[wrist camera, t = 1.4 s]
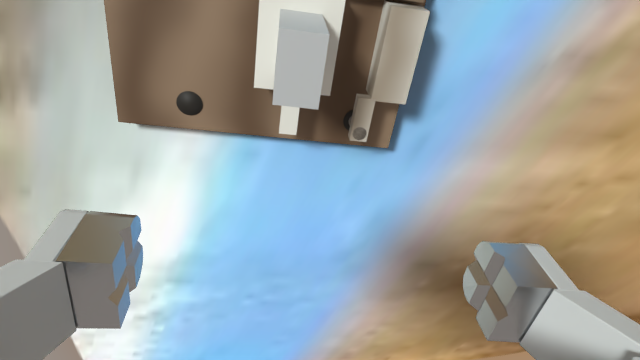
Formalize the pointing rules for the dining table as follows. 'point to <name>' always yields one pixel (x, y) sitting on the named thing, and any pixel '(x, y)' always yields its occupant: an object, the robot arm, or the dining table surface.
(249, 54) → the brown board with blocks
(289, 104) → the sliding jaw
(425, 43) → the dining table surface
